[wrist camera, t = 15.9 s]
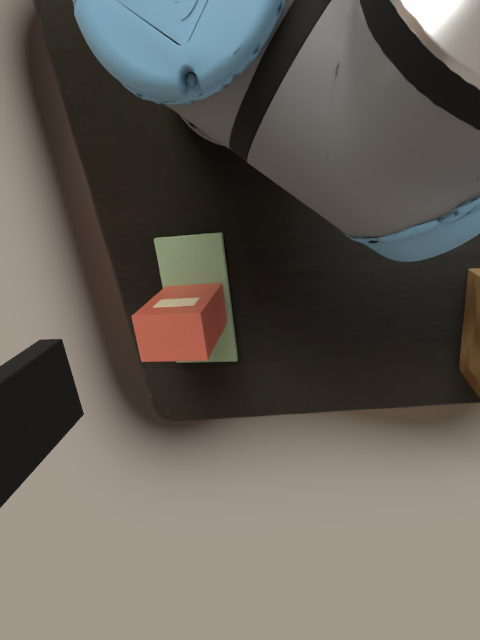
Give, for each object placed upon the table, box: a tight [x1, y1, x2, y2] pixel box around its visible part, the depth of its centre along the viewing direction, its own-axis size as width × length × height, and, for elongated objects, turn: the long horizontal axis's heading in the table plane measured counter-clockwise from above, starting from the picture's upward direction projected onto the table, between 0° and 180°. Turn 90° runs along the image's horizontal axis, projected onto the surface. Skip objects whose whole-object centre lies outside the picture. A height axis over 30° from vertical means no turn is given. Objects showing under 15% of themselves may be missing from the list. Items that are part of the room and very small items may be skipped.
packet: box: [132, 283, 227, 362], centre depth 44 cm, size 5×7×10 cm
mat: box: [154, 232, 238, 363], centre depth 49 cm, size 16×8×1 cm, turn 6°
